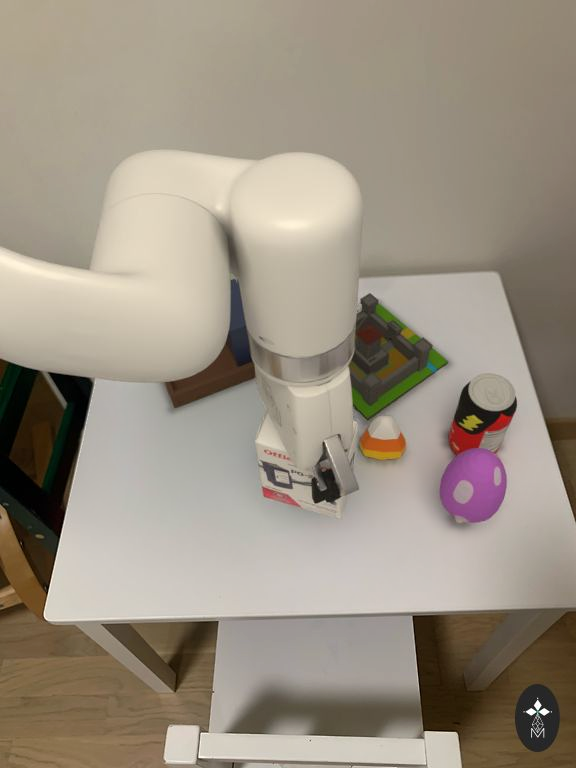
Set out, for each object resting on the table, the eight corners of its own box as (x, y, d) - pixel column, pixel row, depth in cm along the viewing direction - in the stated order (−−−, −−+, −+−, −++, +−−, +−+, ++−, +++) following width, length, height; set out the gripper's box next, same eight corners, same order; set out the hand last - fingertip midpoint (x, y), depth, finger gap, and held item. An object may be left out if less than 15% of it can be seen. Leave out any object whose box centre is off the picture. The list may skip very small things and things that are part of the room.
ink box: (261, 498, 61) (250, 441, 52) (277, 457, 64) (269, 396, 55) (341, 521, 60) (345, 467, 50) (354, 478, 62) (360, 419, 53)
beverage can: (487, 419, 79) (508, 364, 69) (505, 461, 75) (530, 409, 65) (441, 427, 78) (455, 373, 69) (456, 469, 75) (474, 419, 65)
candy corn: (358, 459, 76) (359, 427, 70) (359, 439, 78) (361, 406, 72) (405, 463, 76) (411, 430, 69) (405, 442, 77) (411, 409, 71)
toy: (492, 546, 69) (525, 490, 57) (433, 545, 69) (454, 489, 57) (483, 493, 73) (513, 430, 60) (428, 492, 73) (446, 430, 61)
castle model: (299, 353, 87) (296, 319, 81) (376, 304, 92) (379, 268, 86) (367, 420, 80) (369, 389, 74) (447, 363, 84) (456, 329, 78)
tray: (174, 408, 83) (170, 397, 81) (149, 341, 91) (144, 329, 88) (302, 359, 87) (301, 347, 84) (267, 298, 94) (266, 286, 92)
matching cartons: (238, 367, 86) (229, 331, 79) (217, 324, 91) (208, 287, 84) (290, 347, 87) (286, 310, 80) (267, 306, 92) (262, 268, 85)
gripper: (211, 270, 45) (237, 395, 59) (302, 450, 36) (308, 550, 50) (301, 240, 47) (306, 370, 61) (411, 407, 37) (387, 515, 51)
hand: (307, 451), depth 55 cm, fingers closed on ink box, 9 cm apart
